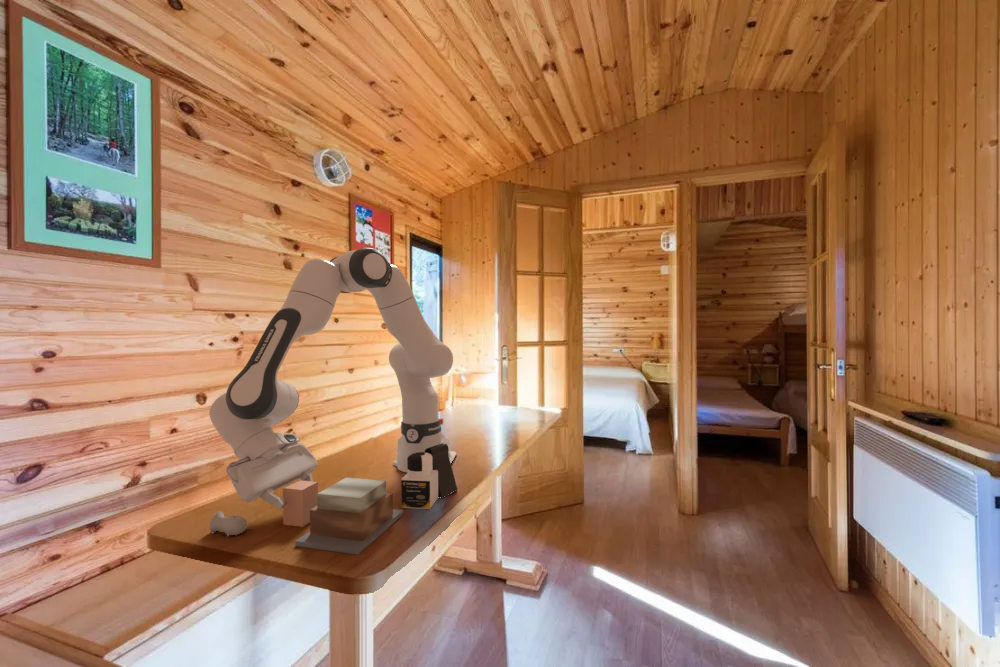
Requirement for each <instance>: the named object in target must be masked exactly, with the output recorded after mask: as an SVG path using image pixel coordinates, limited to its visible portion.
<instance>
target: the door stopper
mask: <svg viewBox="0 0 1000 667" xmlns="http://www.w3.org/2000/svg"><path fill="white" fill-rule="evenodd" d="M425 452H426V453H429V454H431V455H432V465H433V470H437V471H438V497H441V498H442V497H444V496H446V495H448V494H450V493H451V492H453V491H455V490H458V487H457V483H456V479H455V475H454V471H453V467H452V465H451V463H450V459H449V455H448V452H449V448H448V446H447V444H443V443H442V444H439V445H436V446H433V447H430V448H427V449H426V450H425ZM450 495H451V494H450ZM448 496H449V495H448ZM446 497H447V496H446ZM444 498H445V497H444ZM442 499H443V498H442Z"/></svg>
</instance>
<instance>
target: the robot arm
mask: <svg viewBox="0 0 1000 667" xmlns="http://www.w3.org/2000/svg"><path fill="white" fill-rule="evenodd" d="M366 290H367V291H368V292H369V293H370V294H371V295H372V297H373V298H374V300H375V304H376V305H377V308H378V310H379V312H380V315H381V318H382V319H383V322H384V324H385V326H386V330H387V331H388V333H389V334H390V335H391V336H393V337H394V338H395V339H396V340H397V341H398V344H395V345H394V346H393V347H392V348H391V350H390V351H389V356H388V361H389V364H390V367H391V368H392V370H393V371H394V372H395V375H396V378H397V381H398V385H399V390H400V394H401V409H402V411H401V412H402V421H401V424H400V433H401V436H400V437H399V438H398V439H397V448H396V459H395V460H393V466H395V467H397V470H398V471H400V472H403V473H408V470H407V458H408V456H409V455H411V454H413V453H418V452H425V450H426V449H427V448H430V447H433V446H436V445H439V444H442V443H443V444H447V446H448V448H449V452H448V455H449V459H450V463H452V461H453V459H454V457H455V455H456V453H457V451H454V450H451V446H450V439H449V437H447V436H446V434H445V433H443V432H442V430H443V429H442V426H443V425H444V418H440V417H439V394H438V393H437V391H436V390H435V389H434V387H433V385H432V382H431V379H433V378H439V377H442V376H444V375H447V374H448V373H449V372H450V370H452V366H453V364H454V355H453V352H452V349H450V348H449V346H448V345H446V344H444V343H443V342H442V341H441V340H440V339H439V338H438V336H436V334H435V333H434V331H433V330H432V329H431V327H430V326H429V324H428V323H427V321H426V320H425V318H424V316H423V314H422V311H421V309H420V307H419V305H418V302H417V300H416V298H415V294H414V292H413V290H412V287H411V285H410V284H409V281H408V280H407V278H406V277H405V274H404V273H403V272H402V270H401V269H400V268H399V267H398V266H397V265H395V264H391V263H390V262H389V261H388V259H387V258H386V256H385V255H384V254H383V253H381V251H379V250H378V249H376V248H371V247H361V248H358V249H354V250H350V251H346V252H344V253H343V254H341V255H338V256H335V257H333V258H332V259H331V260H326V259H325V258H312V259H309V260H308V261H306V262H305V263H304V264H303V266H302V267H301V269H300V271H299V272H298V274H297V275H296V277H295V279H294V280H293V282H292V285H291V287H290V289H289V292H288V294H287V297H286V299H285V301H284V303H283V304H282V306H281V308H280V309H279V311H277V312H276V314H274V316H273V317H272V319H270V322H269V323H268V325H267V326H266V328H265V330H264V332H263V333H262V335H261V337H260V338H259V340H258V343H257V345H256V346H255V348H254V349H253V350H254V351H253V352H252V354H251V356H250V358H249V359H248V361H247V363H246V365H245V366H244V367H243V368H242V369H241V371H240V372H239V373H238V374H237V375H236V376H235V377H234V378H233V379H232V381H231V382H230V384H229V385H228V387H227V389H226V392H224V393H223V394H221V395H220V396H218V397H217V398H216V399H215V400H214V401H213V403H212V404H211V406H210V408H209V411H208V412H209V413H208V414H209V418H210V421H211V423H212V425H213V426H214V428H215V430H216V431H217V433H218V434H219V435H220V437H221V438H222V440H223V441H224V442H225V443H227V444H228V445H229V446H230V447H231V448H232V451H233V453H234V455H235V457H236V458H237V459H238V460H236V461H233V462H230V463H229V464H228V466H227V467H226V470H225V471H226V472H225V473H226V475H227V476H228V477H229V479H230V481H231V483H232V486H233V488H234V489H235V492H236V493H237V495H238V496H239V498H240V499H241V501H244V502H246V503H251V502H253V501H256V500H257V499H259V498H261V499H262V500H263V501H264V502H266V503H268V504H271V505H273V507H275V509H276V510H278V511H279V510H281V509H283V507H284V506H285V505H286V504H287V501H286V500H285V499H284V497H283V496H281V497H279V496H278V495H277V494H274V492H275V491H276V490H278V489H280V488H284V487H286V486H288V485H290V484H292V483H294V482H296V481H298V480H302V481H312V482H314V479H313V474H312V472H313V471H314V470H315V469H316V468H317V466H318V460H317V458H316V457H315V455H314V454H313V453H312V452H311V451H310V449H309V448H308V447H307V446H306V445H305V444H304V443H302V442H299V441H300V437H299V436H298V435H297V434H295V433H281V432H275V431H274V430H273V429H272V427H274V426H275V425H278V424H279V423H281V422H282V421H284V420H287V418H288V417H291V416H292V415H293V414H294V413H295V411H297V410H296V409H297V408H298V405H299V402H300V397H299V393H298V390H297V389H296V387H295V386H293V385H292V384H291V383H288V382H286V381H284V380H281V379H278V373H279V370H280V368H281V366H282V364H283V362H284V360H285V359H286V356H287V354H288V352H289V350H290V348H291V346H292V345H293V344H294V342H296V340H297V339H299V338H301V337H304V336H311V335H315V334H317V333H319V332H321V331H322V330H323V329H325V327H326V325H327V324H328V322H329V320H330V319H331V316H332V313H333V311H334V308H335V305H336V303H337V300H338V297H339V295H340V294H341V293H343V294H349V293H358V292H363V291H366ZM453 462H454V461H453ZM452 464H453V463H452Z"/></svg>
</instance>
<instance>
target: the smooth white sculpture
mask: <svg viewBox="0 0 1000 667" xmlns="http://www.w3.org/2000/svg"><path fill="white" fill-rule="evenodd" d="M211 517H212V518H211V519H210V522H209V530H210V532H211V534H213V533H212V532H215V533H217V532H218V531H221V532H223V533H225V535H226V534H228V535H235V536H239V535H240V533H241V534H242V533H244V532H245V530H246V529H247V525H248V520H247V519H246V518H245V517H243V516H239V515H235V514H234V515H233V514H231V516H225V514H224V512H223V511H221V510H220V511H217V512H215V513H214V514H213V516H211ZM216 531H217V532H216ZM238 534H239V535H238Z"/></svg>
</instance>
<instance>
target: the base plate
mask: <svg viewBox="0 0 1000 667" xmlns="http://www.w3.org/2000/svg"><path fill="white" fill-rule="evenodd" d="M403 515H404V510H403V509H396V508H393V516H391V517H390V518H389V519H388V520H387V521H386V522H384V523H383V524H382V525H381V526H380V527H379V528H377V529H376V530H375V531H374V532H373V533H371V534H370V535H369V536H368V537H367V538H366V539H364V540H363V541H357V540H349V539H341V538H334V537H326V536H318V535H311V534H310V531H308V532H306V533H305V534H304V535H302V536H300V537H299V538H298V539H296V540H295V547H299V548H306V549H307V548H308V549H314V550H323V551H329V552H336V553H344V554H350V555H360V554H361V553H362V552H363V551H365V549H366V548H368V547H369V546H370V545H371V544H372V543H373V542H374V541H375V540H377V539H378V538H379V537H380V536H381V535H382V534H383V533H384V532H385V531H387V530H388V529H389V528H390V527H391V526H392V525H393V524H394V523H396V522H397V521H398V520H399V519H400V518H401V517H403ZM398 518H399V519H398ZM397 519H398V520H397ZM396 520H397V521H396ZM395 521H396V522H395ZM386 529H387V530H386Z"/></svg>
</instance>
